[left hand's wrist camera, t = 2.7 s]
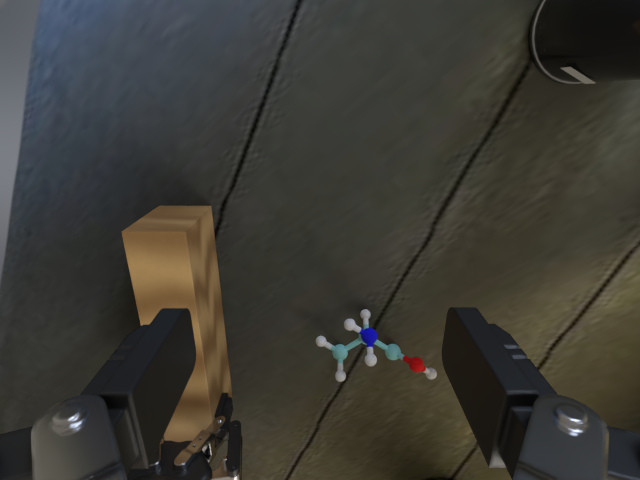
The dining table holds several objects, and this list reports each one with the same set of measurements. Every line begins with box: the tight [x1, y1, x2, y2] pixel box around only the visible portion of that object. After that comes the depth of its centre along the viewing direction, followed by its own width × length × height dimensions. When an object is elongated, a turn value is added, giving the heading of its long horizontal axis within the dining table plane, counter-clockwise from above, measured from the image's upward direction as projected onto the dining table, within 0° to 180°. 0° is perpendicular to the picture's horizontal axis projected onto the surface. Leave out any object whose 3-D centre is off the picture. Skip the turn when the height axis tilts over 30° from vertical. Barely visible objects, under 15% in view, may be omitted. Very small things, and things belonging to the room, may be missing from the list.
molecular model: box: [316, 309, 437, 382], centre depth 42 cm, size 12×10×10 cm
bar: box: [121, 206, 232, 442], centre depth 41 cm, size 26×6×8 cm, turn 0°
